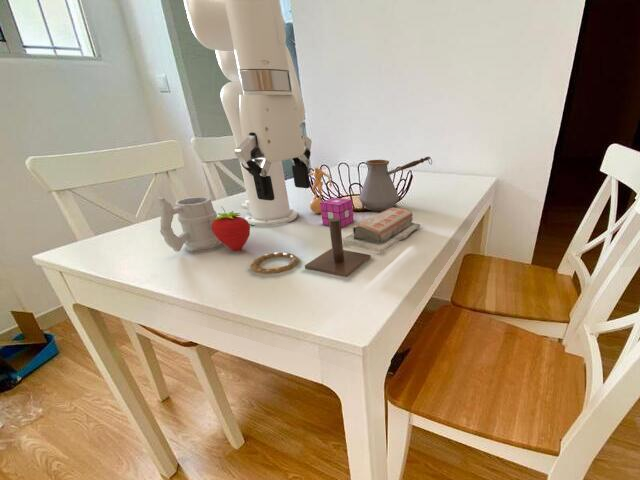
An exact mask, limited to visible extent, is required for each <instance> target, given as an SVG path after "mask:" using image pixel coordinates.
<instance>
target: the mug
mask: <svg viewBox="0 0 640 480" xmlns="http://www.w3.org/2000/svg"><path fill="white" fill-rule="evenodd" d="M157 199H158V201H159V207H160V210H159V212H160V229H159V232H160V235H161V236H162V237H163V240H164V242H165V243H166V245H167V246H168V247H170V248H172V250H173V251H174V252H175V253H177V252H181V250H182V248H183V246H184V245H185V246H186V248H187V250H188V251H190V252H193V251H200V250H206V249H207V250H208V249H212V248H215V247H216V248H217V247H218V246H220V245H222V244H223V243H222V242H221V241H220V240H219V239H217V237H216V236H215V234H214V233H213V231H212V223H213V221H214V220H212V219H214V218H217V217H218V213H217V211H216V210H215V208H214V206H213V203H212V199H211V198H210V197H205V196H192V197H186V198H183V199H178V200H176V201H175V203H174V204H175V206H174V207H173V205H172V204H171V202H169V201H168V200H166V198H164V197H161V196H159V197H157ZM176 214H177V221H178V222H179V224H180V226H181V230H182V232H181V233H180V234H179V235H177V234H175V231H174V230H173V227H172V222H173V219H174V216H175V215H176Z"/></svg>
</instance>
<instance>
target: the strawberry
mask: <svg viewBox="0 0 640 480" xmlns="http://www.w3.org/2000/svg"><path fill="white" fill-rule="evenodd" d="M220 207H221V208H222V210H223V211H224V213H223V212H221V213H220V212H219V213H217V215H218V216H217V217H216V218H214V219H212V220H214V221H213V223H212V231H213V233H214V234H215V236H216V237H217V239H219V240H220V241H221V242H222V244H223V245H224V246H226V247H227V248H229V249H230V250H232V251H233V252H239V251H240V252H241V251H242V250H243V248H244V246H245V245H246V243H247V241H248V239H249V237H250V235H251V224H249V223H248V221H247V220H246V218H244V217H241V212H234V210H233V211H229V212H226V210H225V208H224V207H223V206H222V205H221V206H220Z"/></svg>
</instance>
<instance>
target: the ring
mask: <svg viewBox="0 0 640 480" xmlns="http://www.w3.org/2000/svg"><path fill="white" fill-rule="evenodd" d="M273 258H287V259H289V260H290V261H291V262H290V263H289V262H288V263H287V264H286V265H283V266H279V267H273V268H265V267H260V264H261V263H262V262H264V261H266V260H269V259H273ZM299 260H300V259H299V258H298V257H297V256H296V255H295V254H294V253H290V252H283V251H282V252H272V253H267V254H263V255H261V256H259V257H257V258H255V259H254V260H253V261H252V263H251V264H250V268H251V269H252V271H253V272H254V273H259V274H263V275H269V274H271V275H272V274H280V273H283V272H286V271H287V272H288V271H290V270H291V269H294V268H295V267H296V266H298V264H299Z"/></svg>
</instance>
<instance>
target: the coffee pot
mask: <svg viewBox="0 0 640 480" xmlns="http://www.w3.org/2000/svg"><path fill="white" fill-rule="evenodd" d="M427 161H428V164H429V165H432V164H433V160H432V157H431V156H425V157H421V158H420V159H417V160H413V161H410V162H408V163H406V164H404V165H402V166H400V167H397V168H394V169H391V170H389V171H388V165H389V164H390V161H389V160H388V159H387V160H386V159H369V160H366V161H365V164H367V168H368V171H367V173H366V176H365V180H364V182H363V185H362V188H361V191H360V194H359V197H358V199H359V201H360V203H361V204H362V206H363V207H365V208H366V209H367V210H368V211H374V212H383V211H385V210H387V209H390V208H394V206H396V205H397V203H398V202H399V200H400V199H399V198H400V197H399V194H398V191H397V189H396V187H395V185H394V182H393V179H392V177H391V175H393V174H395V173H398V172H400V171H403V170H407V169H410V168H413V167H416V166H418V165H419V164H423V163H424V162H427ZM430 161H431V162H430Z"/></svg>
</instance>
